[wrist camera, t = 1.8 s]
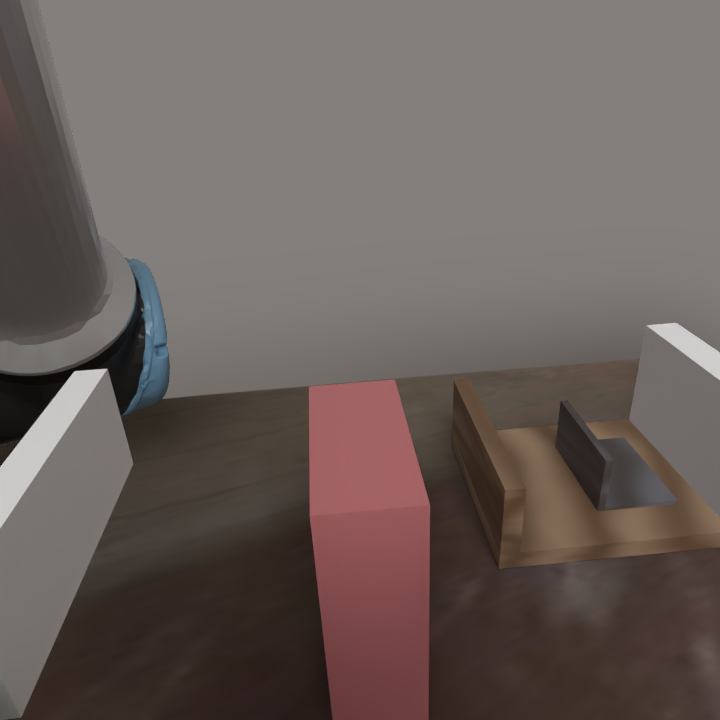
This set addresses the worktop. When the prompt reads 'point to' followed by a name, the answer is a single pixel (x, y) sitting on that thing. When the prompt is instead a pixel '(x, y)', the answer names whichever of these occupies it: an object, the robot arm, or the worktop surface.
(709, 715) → the worktop surface
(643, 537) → the l-shaped wooden stand
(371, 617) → the tall pink pillar
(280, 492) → the worktop surface
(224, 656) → the worktop surface
